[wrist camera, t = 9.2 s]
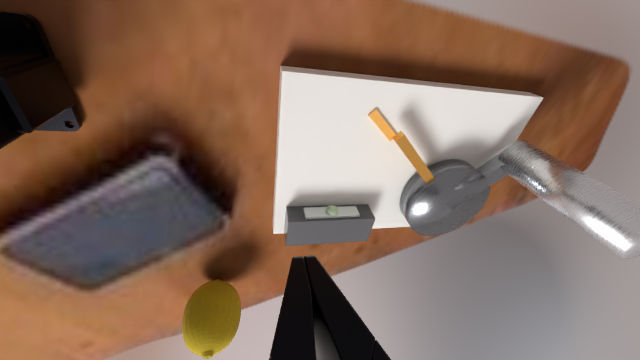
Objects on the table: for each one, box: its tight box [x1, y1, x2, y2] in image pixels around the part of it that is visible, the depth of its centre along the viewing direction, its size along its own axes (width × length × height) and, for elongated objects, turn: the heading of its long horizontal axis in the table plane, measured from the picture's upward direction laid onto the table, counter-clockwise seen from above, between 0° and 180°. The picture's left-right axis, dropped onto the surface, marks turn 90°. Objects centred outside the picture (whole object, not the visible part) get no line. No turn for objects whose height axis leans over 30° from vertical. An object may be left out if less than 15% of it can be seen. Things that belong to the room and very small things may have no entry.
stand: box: [273, 66, 543, 246], centre depth 23 cm, size 22×15×4 cm
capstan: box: [392, 131, 640, 259], centre depth 19 cm, size 14×12×11 cm
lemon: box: [182, 279, 241, 359], centre depth 26 cm, size 6×6×8 cm
